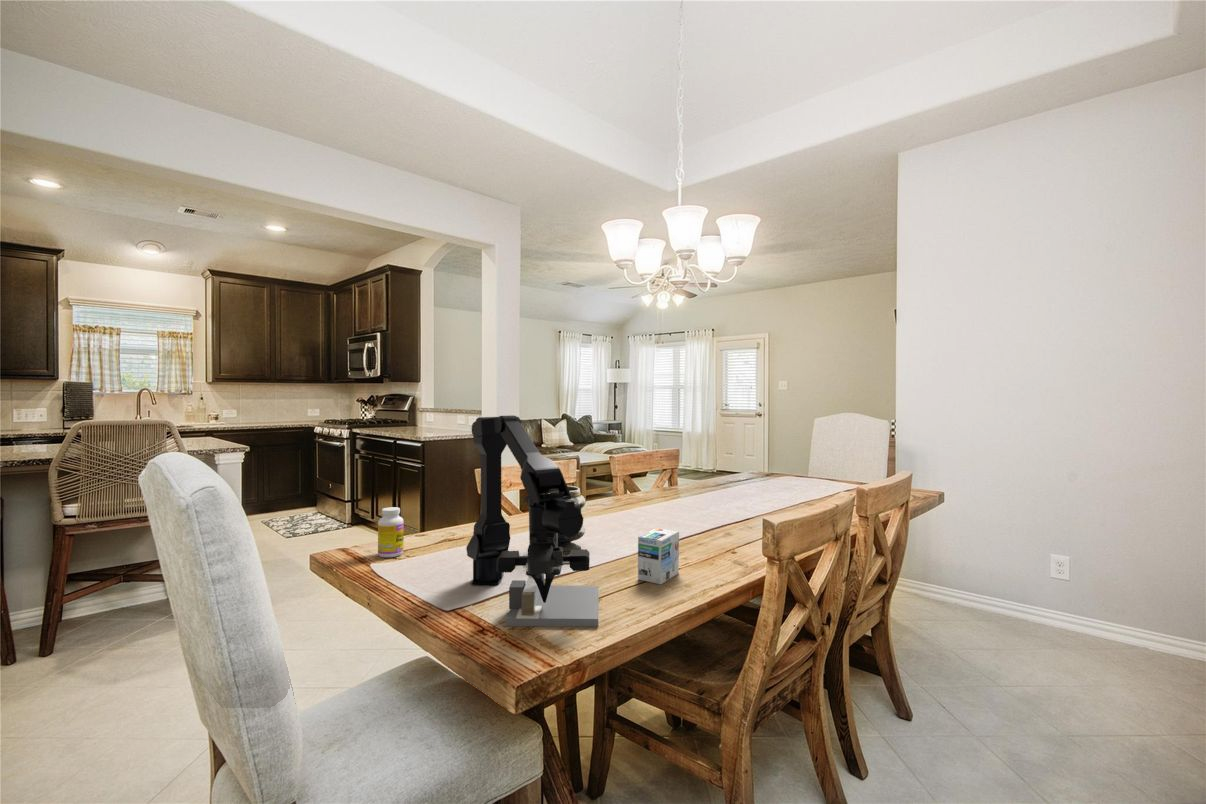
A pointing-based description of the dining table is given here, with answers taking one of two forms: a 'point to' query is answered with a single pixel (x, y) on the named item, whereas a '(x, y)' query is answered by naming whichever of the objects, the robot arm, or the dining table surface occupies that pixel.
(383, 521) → the supplement bottle
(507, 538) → the robot arm
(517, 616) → the plate
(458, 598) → the dining table surface
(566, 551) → the apothecary jar
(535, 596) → the bar
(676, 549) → the light bulb box
